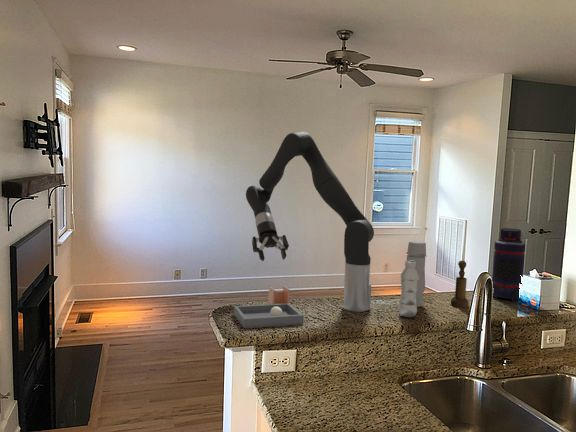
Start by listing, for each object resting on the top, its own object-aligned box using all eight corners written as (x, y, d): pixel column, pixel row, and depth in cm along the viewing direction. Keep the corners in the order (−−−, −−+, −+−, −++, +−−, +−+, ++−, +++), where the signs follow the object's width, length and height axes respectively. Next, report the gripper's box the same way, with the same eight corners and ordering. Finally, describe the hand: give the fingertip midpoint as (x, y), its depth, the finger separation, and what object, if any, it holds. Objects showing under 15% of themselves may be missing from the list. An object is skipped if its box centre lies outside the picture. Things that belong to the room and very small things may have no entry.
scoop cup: (283, 305, 175) (284, 285, 174) (288, 309, 169) (289, 289, 169) (268, 306, 173) (269, 286, 173) (272, 310, 167) (273, 290, 167)
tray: (288, 311, 167) (288, 303, 166) (303, 324, 153) (303, 315, 152) (233, 314, 160) (234, 306, 160) (244, 328, 146) (244, 319, 146)
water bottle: (413, 309, 176) (417, 243, 174) (399, 303, 183) (402, 241, 181) (430, 306, 181) (434, 243, 179) (416, 301, 188) (419, 240, 186)
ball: (286, 313, 155) (278, 322, 155) (281, 305, 157) (273, 313, 158) (279, 311, 152) (271, 319, 153) (273, 302, 155) (266, 311, 155)
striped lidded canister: (520, 303, 191) (525, 231, 189) (489, 298, 197) (494, 228, 195) (522, 296, 203) (527, 228, 201) (493, 292, 209) (497, 226, 207)
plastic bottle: (414, 314, 169) (418, 260, 167) (418, 319, 162) (421, 263, 161) (396, 313, 170) (399, 259, 168) (399, 318, 163) (402, 262, 161)
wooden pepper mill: (470, 305, 185) (473, 260, 184) (466, 308, 180) (469, 262, 178) (452, 302, 189) (455, 258, 187) (449, 305, 183) (451, 260, 182)
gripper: (250, 221, 185) (257, 255, 176) (284, 219, 189) (293, 252, 180) (247, 232, 191) (254, 265, 181) (280, 230, 195) (288, 263, 186)
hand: (273, 259), depth 181 cm, fingers open, 8 cm apart
